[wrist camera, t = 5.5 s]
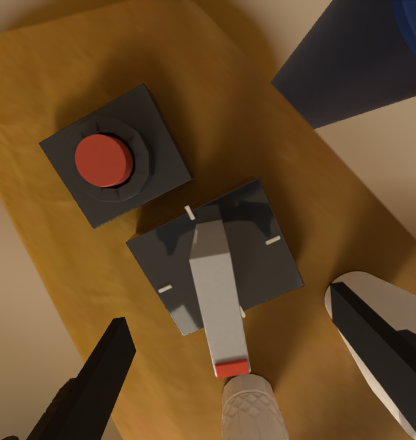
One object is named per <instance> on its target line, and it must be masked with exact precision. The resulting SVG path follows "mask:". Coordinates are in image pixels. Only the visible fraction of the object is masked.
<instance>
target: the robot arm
mask: <svg viewBox="0 0 416 440" xmlns="http://www.w3.org/2000/svg"><path fill="white" fill-rule="evenodd" d="M330 294H331V309H332V322H333V323H334V324H335V326H336V327H337V328H338V330H339V331H340V332H341V334H342V335H343V336H344V338H345V339H346V340H347V342H348V343H349V344H350V346H351V347H352V348H353V350H354V351H355V352H356V353H357V355H358V356H359V357H360V359H361V360H362V361H363V363H364V364H365V365H366V367H367V368H368V369H369V371H370V372H371V373H372V375H373V376H374V377H375V379H376V380H377V381H378V383H379V384H380V385H381V387H382V388H383V389H384V391H385V392H386V393H387V395H388V396H389V397H390V399H391V400H392V401H393V403H394V404H395V405H396V407H397V408H398V409H399V411H400V412H401V413H402V415H403V416H404V417H405V419H406V420H407V421H408V423H409V424H410V425H411V427H412V428H413V429H414V431H415V432H416V334H415V333H413V332H411V331H410V330H408V329H404V330H398V331H396V330H395V329H394V328H393V327H391V326H390V325H389V324H388V323H387V322H386V321H385V320H384V319H383V318H382V317H381V316H379V315H378V314H377V313H376V312H375V311H374V310H373V309H372V308H371V307H370V306H369V305H368V304H366V303H365V302H364V301H363V300H362V299H361V298H360V297H359V296H358V295H357V294H356V293H354V292H353V291H352V290H351V289H350V288H349V287H348V286H347V285H346V284H345V283H344V282H337V283H331V284H330ZM135 353H136V349H135V346H134V343H133V340H132V337H131V334H130V331H129V328H128V325H127V322H126V319H125V317H121V318H114V319H113V320H112V322H111V323H110V325H109V326H108V328H107V330H106V331H105V333H104V334H103V336H102V338H101V339H100V341H99V342H98V344H97V346H96V347H95V349H94V350H93V352H92V353H91V355H90V357H89V358H88V360H87V361H86V363H85V365H84V366H83V368H82V369H81V371H80V373H79V374H78V376H77V377H76V378H72V379H70V380H69V381H68V382H67V383H66V384H65V385H64V386H63V387H62V388H61V389H60V390H59V392H58V393H57V394H56V396H55V398H54V399H53V400H52V403H50V405H49V407H48V408H47V410H46V412H45V413H44V414H43V415H42V417H41V418H40V420H39V421H38V423H37V424H36V426H35V427H34V429H33V430H32V432H31V433H30V435H29V436H28V438H27V439H26V440H101V437H102V435H103V432H104V430H105V427H106V425H107V422H108V420H109V417H110V415H111V413H112V410H113V408H114V405H115V403H116V400H117V398H118V395H119V393H120V390H121V388H122V385H123V383H124V380H125V378H126V375H127V373H128V370H129V368H130V365H131V363H132V360H133V358H134V355H135ZM2 440H19V438H18V437H16V436H9V437H6V438H4V439H2Z"/></svg>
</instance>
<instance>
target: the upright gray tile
mask: <svg viewBox="0 0 416 440" xmlns="http://www.w3.org/2000/svg"><path fill="white" fill-rule="evenodd" d="M189 262H190V266H191V271H192V275H193V279H194V284H195V288H196V293H197V297H198V301H199V306H200V310H201V315H202V319H203V323H204V328H205V332H206V337H207V341H208V345H209V350H210V354H211V359H212V363H213V367H214V372H215V376H216V377H217V378H222V377H229V376H235V375H242V374H249V372H251V367H250V361H249V356H248V350H247V345H246V339H245V333H244V328H243V322H242V316H241V311H240V305H239V299H238V294H237V288H236V282H235V277H234V271H233V265H232V260H231V254H230V250H229V246H228V242H227V237H226V233H225V229H224V225H223V221H222V220H217V221H211V222H206V223H200V224H196V228H195V233H194V238H193V243H192V248H191V253H190V258H189Z"/></svg>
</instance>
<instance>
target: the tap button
mask: <svg viewBox="0 0 416 440" xmlns="http://www.w3.org/2000/svg"><path fill="white" fill-rule="evenodd" d="M94 134H102V135H106V136H110V137H113V138H116V139H118V140H120V141H122V142H123V143H124V144H125V145H126V146H127V147H128V149H129V150H130V152H131V155H132V158H133V169H132V172H131V174H130V176H129V177H128V178H127V179H126V180H125V181H124V182H122V183H120V184H117V185H113V186H108V187H100V186H96V185H93V184H91V183H89V182H88V181H86V180H85V179H84V178H83V177H82V176H81V174H80V173H79V171H78V169H77V166H76V162H75V153H76V149H77V147H78V145H79V143H80V142H81V141H82V140H83V139H84V138H86V137H88V136H90V135H94ZM39 145H40V146H41V148H42V150H43V151H44V153H45V154H46V156H47V157H48V159H49V160H50V162H51V163H52V165H53V167H54V168H55V170H56V171H57V173H58V174H59V176H60V177H61V179H62V181H63V182H64V184H65V185H66V187H67V188H68V190H69V191H70V193H71V195H72V196H73V198H74V199H75V201H76V202H77V204H78V205H79V207H80V209H81V210H82V212H83V213H84V215H85V216H86V218H87V219H88V221H89V223H90V224H91V226H92V227H93V229H95V228H97V227H99V226H101V225H103V224H105V223H107V222H109V221H111V220H113V219H115V218H117V217H119V216H121V215H122V214H124V213H126V212H128V211H130V210H132V209H134V208H136V207H138V206H140V205H142V204H144V203H146V202H148V201H150V200H152V199H154V198H156V197H158V196H160V195H162V194H164V193H166V192H168V191H170V190H172V189H174V188H176V187H178V186H180V185H182V184H184V183H186V182H188V181H190V180H192V179H193V176H192V174H191V172H190V170H189V168H188V166H187V164H186V162H185V160H184V158H183V156H182V154H181V152H180V150H179V148H178V146H177V144H176V142H175V140H174V138H173V136H172V134H171V132H170V130H169V128H168V126H167V124H166V122H165V120H164V118H163V116H162V114H161V112H160V110H159V108H158V106H157V104H156V102H155V100H154V98H153V96H152V94H151V92H150V90H149V89H148V88H147V87H146V85H145V84H144V83H143V84H141V85H139V86H138V87H136V88H134V89H132V90H131V91H129V92H127V93H125V94H124V95H122V96H120V97H118V98H117V99H115V100H113V101H112V102H110V103H108V104H106V105H105V106H103V107H101V108H99V109H98V110H96V111H94V112H92V113H91V114H89V115H87V116H85V117H84V118H82V119H80V120H78V121H77V122H75V123H73V124H71V125H70V126H68V127H66V128H64V129H63V130H61V131H59V132H57V133H56V134H54V135H52V136H50V137H49V138H47V139H45V140H43V141H42V142H40V143H39Z"/></svg>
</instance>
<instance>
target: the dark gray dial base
mask: <svg viewBox="0 0 416 440" xmlns="http://www.w3.org/2000/svg"><path fill="white" fill-rule="evenodd" d="M185 208H186V209H184V210H182V211H180V212H178V213H176V214H174V215H172V216H170V217H168V218H166V219H164V220H162V221H160V222H158V223H156V224H154V225H152V226H150V227H148V228H145V229H143V230H141V231H139V232H137V233H135V234H134V235H133V236H132V237H131V238H130V239H129V240H128V241H127V242H126V244H127V246H128V247H129V249H130V251H131V252H132V254H133V255H134V257H135V259H136V260H137V262H138V264H139V265H140V267H141V268H142V270H143V272H144V273H145V275H146V277H147V278H148V280H149V281H150V283H151V285H152V286H153V288H154V290H155V291H156V293H157V294H158V296H159V298H160V299H161V301H162V302H163V304H164V306H165V307H166V309H167V311H168V312H169V314H170V315H171V317H172V319H173V320H174V322H175V324H176V325H177V327H178V328H179V330H180V332H181V333H182V335H183V336H185V335H187V334H190V333H192V332H194V331H197V330H199V329H201V328H204V323H203V319H202V315H201V310H200V306H199V301H198V297H197V293H196V288H195V284H194V279H193V275H192V271H191V266H190V262H189V258H190V253H191V248H192V243H193V238H194V233H195V228H196V224H200V223H206V222H211V221H217V220H222V221H223V225H224V229H225V233H226V237H227V242H228V246H229V250H230V254H231V260H232V265H233V271H234V277H235V282H236V288H237V294H238V299H239V305H240V311H241V315H242V317H243V318H244V317H246V315H245V313H244V310H247V309H249V308H252V307H254V306H256V305H259V304H261V303H264V302H266V301H268V300H271V299H273V298H276V297H278V296H280V295H283V294H285V293H287V292H290V291H292V290H295V289H297V288H299V287H302V286H304V282H303V280H302V278H301V275H300V273H299V271H298V268H297V266H296V264H295V261H294V259H293V257H292V254H291V252H290V250H289V247H288V245H287V243H286V240H285V238H284V236H283V233H282V231H281V229H280V226H279V224H278V222H277V219H276V217H275V215H274V212H273V210H272V208H271V206H270V203H269V201H268V199H267V196H266V194H265V192H264V189H263V187H262V185H261V182H260V180H259V178H256V177H253V176H252V177H250V178H248V179H246V180H244V181H242V182H240V183H237V184H235V185H233V186H231V187H229V188H227V189H225V190H223V191H221V192H219V193H217V194H215V195H213V196H211V197H209V198H207V199H205V200H203V201H201V202H199V203H197V204H195V205H192V206H190V207H189V205H187V206H185Z"/></svg>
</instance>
